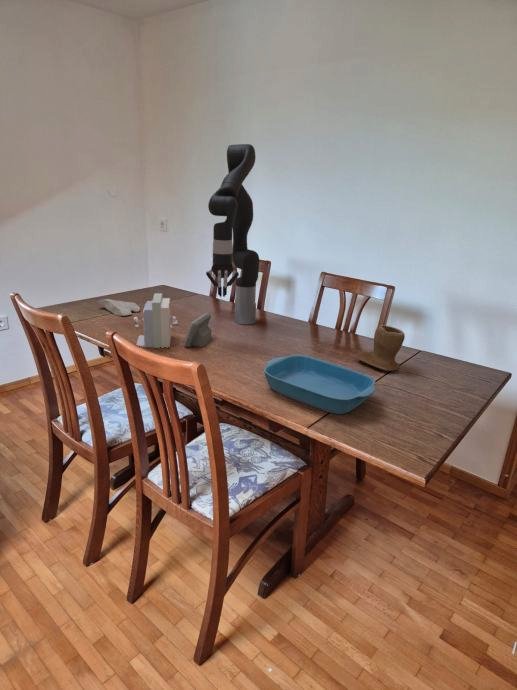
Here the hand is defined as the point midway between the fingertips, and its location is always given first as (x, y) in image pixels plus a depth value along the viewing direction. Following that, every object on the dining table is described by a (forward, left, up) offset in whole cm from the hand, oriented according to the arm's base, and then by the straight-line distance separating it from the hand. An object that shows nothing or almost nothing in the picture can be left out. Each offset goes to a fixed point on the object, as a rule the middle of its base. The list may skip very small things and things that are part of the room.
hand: (222, 296), depth 176 cm
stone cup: (-57, +27, -19) cm, 66 cm away
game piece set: (+27, -24, -20) cm, 41 cm away
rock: (+45, -45, -20) cm, 67 cm away
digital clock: (+10, 0, -19) cm, 22 cm away
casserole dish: (-27, +48, -20) cm, 58 cm away
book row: (+27, -1, -19) cm, 33 cm away
